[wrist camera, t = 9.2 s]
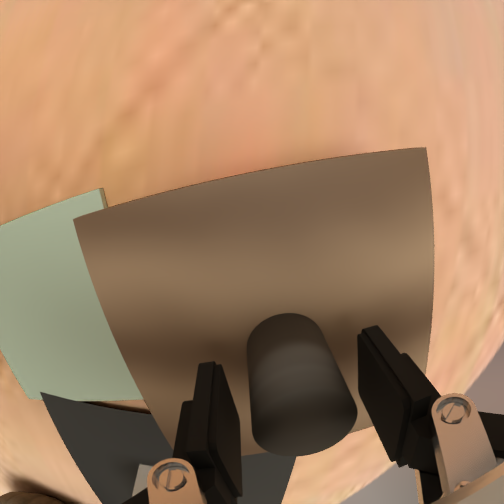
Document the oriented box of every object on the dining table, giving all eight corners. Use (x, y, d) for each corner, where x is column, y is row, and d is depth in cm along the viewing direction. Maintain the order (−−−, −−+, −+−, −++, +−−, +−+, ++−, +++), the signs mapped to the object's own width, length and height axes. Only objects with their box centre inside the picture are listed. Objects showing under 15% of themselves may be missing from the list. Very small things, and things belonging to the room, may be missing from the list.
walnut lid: (81, 215, 11) (-1, 251, 6) (415, 147, 11) (506, 148, 6) (181, 451, 15) (171, 524, 10) (413, 400, 15) (452, 461, 10)
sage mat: (-36, 242, 18) (-41, 244, 17) (102, 187, 18) (98, 188, 17) (31, 395, 22) (28, 398, 22) (172, 392, 22) (171, 397, 22)
